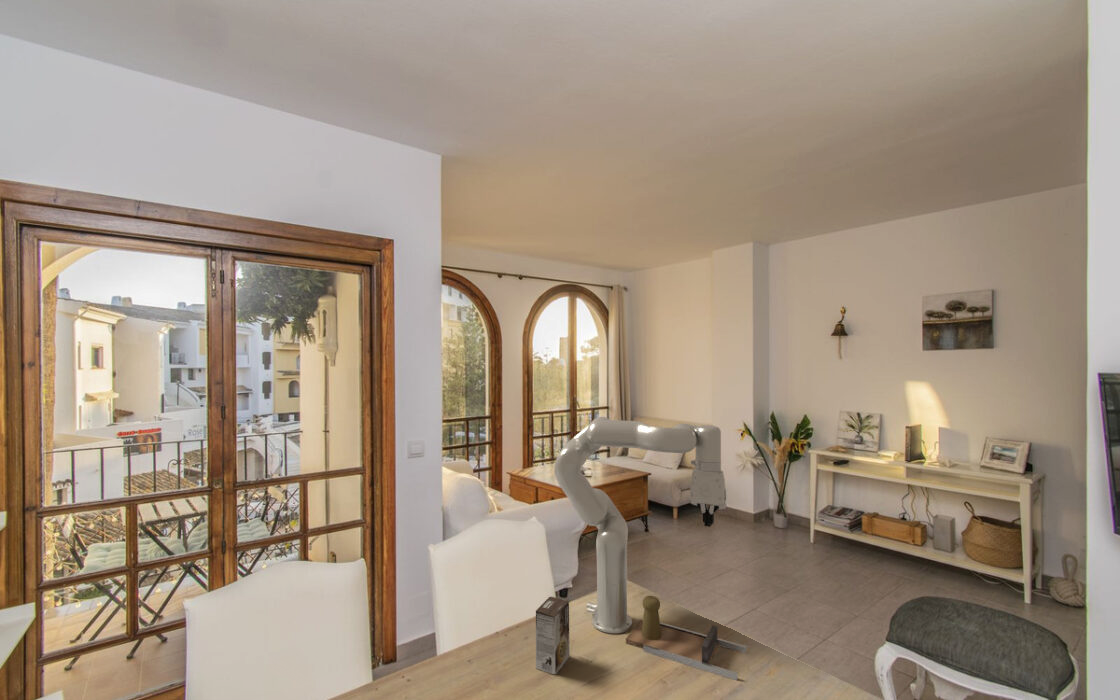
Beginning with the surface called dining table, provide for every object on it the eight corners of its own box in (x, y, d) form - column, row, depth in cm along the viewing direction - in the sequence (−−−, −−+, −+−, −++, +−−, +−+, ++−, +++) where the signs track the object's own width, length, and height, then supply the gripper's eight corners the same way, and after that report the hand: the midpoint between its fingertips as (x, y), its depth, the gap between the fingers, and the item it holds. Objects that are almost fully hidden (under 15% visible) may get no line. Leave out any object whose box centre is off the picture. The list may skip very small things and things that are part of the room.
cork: (661, 641, 149) (661, 603, 149) (640, 638, 150) (640, 601, 150) (661, 630, 155) (661, 594, 155) (641, 627, 156) (641, 592, 156)
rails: (643, 651, 146) (643, 645, 146) (659, 627, 159) (659, 622, 159) (736, 680, 133) (736, 674, 133) (746, 651, 146) (746, 646, 146)
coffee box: (550, 651, 146) (549, 595, 146) (570, 657, 143) (570, 600, 143) (534, 669, 138) (534, 610, 138) (555, 675, 135) (555, 615, 135)
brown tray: (625, 642, 150) (625, 623, 150) (640, 623, 161) (640, 606, 161) (707, 667, 138) (707, 647, 138) (717, 645, 149) (717, 626, 149)
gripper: (680, 465, 156) (680, 524, 156) (730, 471, 149) (730, 533, 149) (687, 461, 163) (687, 517, 163) (735, 466, 155) (735, 525, 155)
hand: (708, 525), depth 156 cm, fingers closed
